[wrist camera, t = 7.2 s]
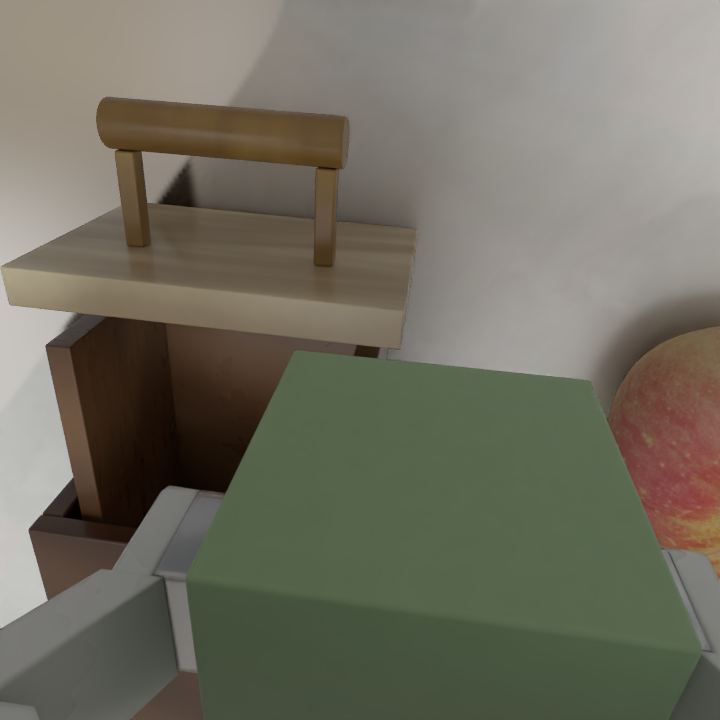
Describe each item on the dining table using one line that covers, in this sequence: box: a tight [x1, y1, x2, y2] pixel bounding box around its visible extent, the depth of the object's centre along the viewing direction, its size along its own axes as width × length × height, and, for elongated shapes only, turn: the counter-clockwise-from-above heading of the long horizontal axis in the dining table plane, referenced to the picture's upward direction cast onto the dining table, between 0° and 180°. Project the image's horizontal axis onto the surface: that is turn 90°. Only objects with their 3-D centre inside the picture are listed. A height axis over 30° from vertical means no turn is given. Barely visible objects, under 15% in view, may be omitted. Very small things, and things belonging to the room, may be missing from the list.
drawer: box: [1, 97, 418, 528], centre depth 22 cm, size 19×11×8 cm, turn 176°
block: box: [185, 350, 702, 720], centre depth 8 cm, size 4×4×4 cm
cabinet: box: [29, 477, 203, 720], centre depth 28 cm, size 16×13×10 cm
